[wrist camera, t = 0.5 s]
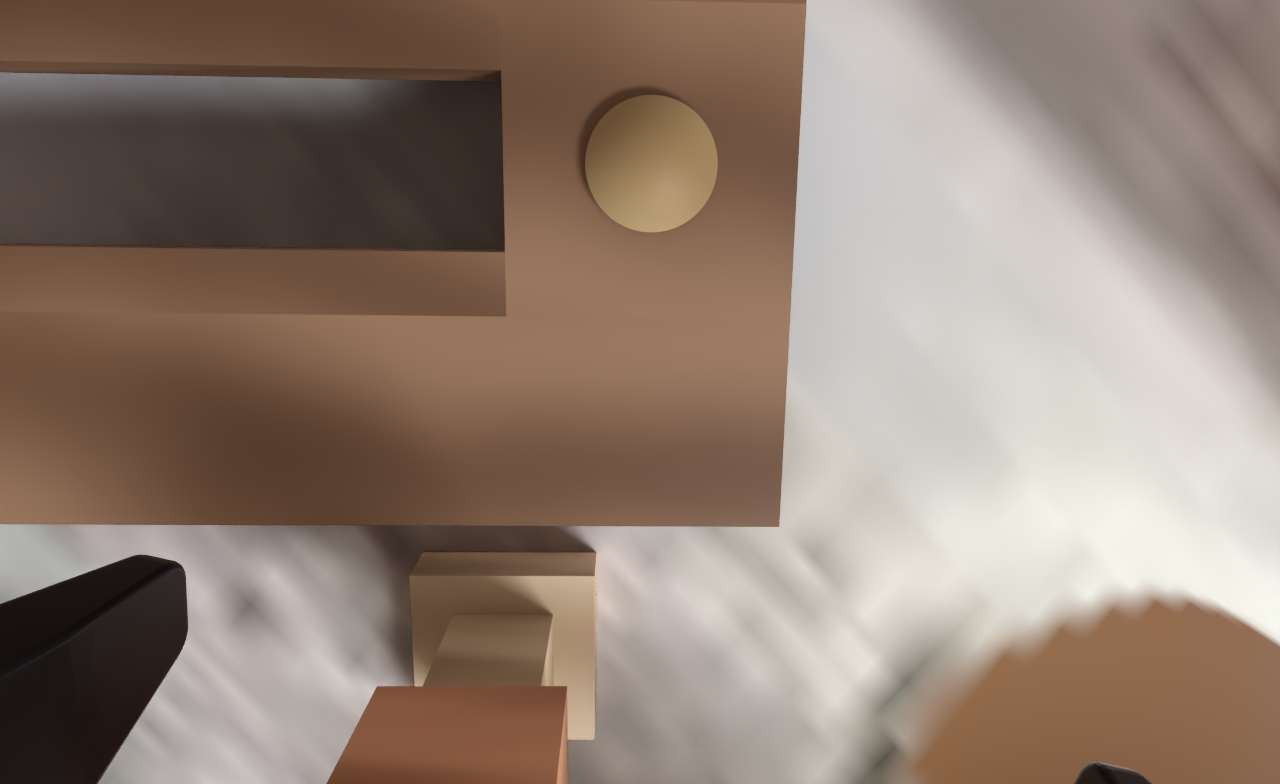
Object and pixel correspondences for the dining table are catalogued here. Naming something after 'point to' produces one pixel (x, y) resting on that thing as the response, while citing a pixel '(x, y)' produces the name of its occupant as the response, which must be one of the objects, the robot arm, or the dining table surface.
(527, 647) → the copper peg
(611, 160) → the keyhole plate
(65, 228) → the dining table surface
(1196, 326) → the dining table surface
